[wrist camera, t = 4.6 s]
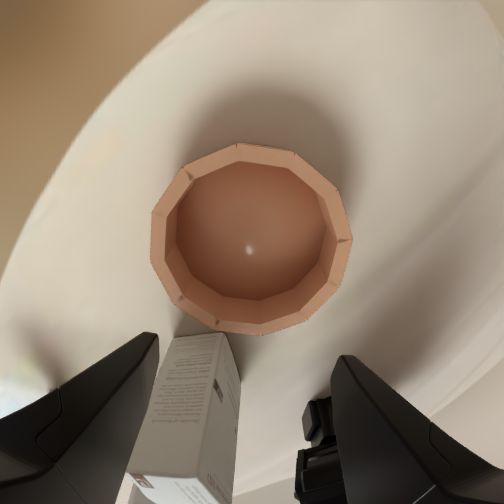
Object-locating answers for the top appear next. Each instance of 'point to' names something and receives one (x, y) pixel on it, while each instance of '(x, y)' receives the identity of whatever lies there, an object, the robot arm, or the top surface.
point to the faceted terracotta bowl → (250, 239)
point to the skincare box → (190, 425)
